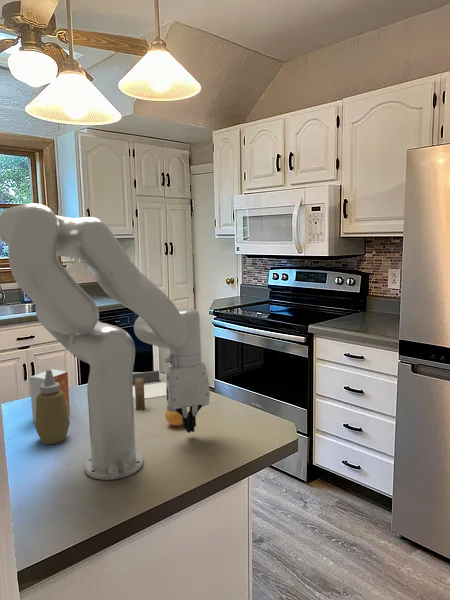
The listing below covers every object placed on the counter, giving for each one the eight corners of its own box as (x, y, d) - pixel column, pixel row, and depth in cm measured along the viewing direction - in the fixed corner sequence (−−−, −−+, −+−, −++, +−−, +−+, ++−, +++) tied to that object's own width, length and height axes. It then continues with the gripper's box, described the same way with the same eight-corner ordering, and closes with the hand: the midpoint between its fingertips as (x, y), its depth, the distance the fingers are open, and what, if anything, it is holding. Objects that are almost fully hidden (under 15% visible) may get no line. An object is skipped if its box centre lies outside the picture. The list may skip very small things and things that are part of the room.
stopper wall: (159, 381, 162) (159, 371, 161) (130, 385, 158) (130, 375, 157) (158, 379, 163) (158, 370, 163) (130, 383, 159) (129, 373, 159)
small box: (49, 425, 125) (46, 379, 123) (32, 422, 127) (28, 376, 126) (70, 415, 132) (68, 371, 130) (54, 411, 135) (51, 368, 133)
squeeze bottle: (43, 450, 110) (37, 377, 108) (31, 439, 116) (26, 370, 114) (75, 440, 116) (71, 370, 113) (63, 430, 122) (58, 364, 119)
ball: (191, 427, 122) (190, 405, 121) (169, 431, 120) (168, 409, 119) (184, 419, 128) (183, 398, 127) (163, 422, 125) (162, 401, 125)
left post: (145, 409, 135) (144, 379, 134) (136, 410, 134) (135, 380, 133) (143, 406, 138) (142, 377, 136) (135, 407, 137) (133, 378, 135)
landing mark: (175, 394, 148) (175, 393, 148) (135, 400, 143) (135, 399, 143) (165, 382, 160) (165, 382, 160) (127, 387, 155) (127, 387, 155)
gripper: (159, 367, 106) (164, 442, 109) (220, 358, 112) (222, 430, 114) (152, 359, 113) (156, 430, 116) (209, 351, 119) (212, 419, 121)
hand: (189, 430), depth 115 cm, fingers closed
